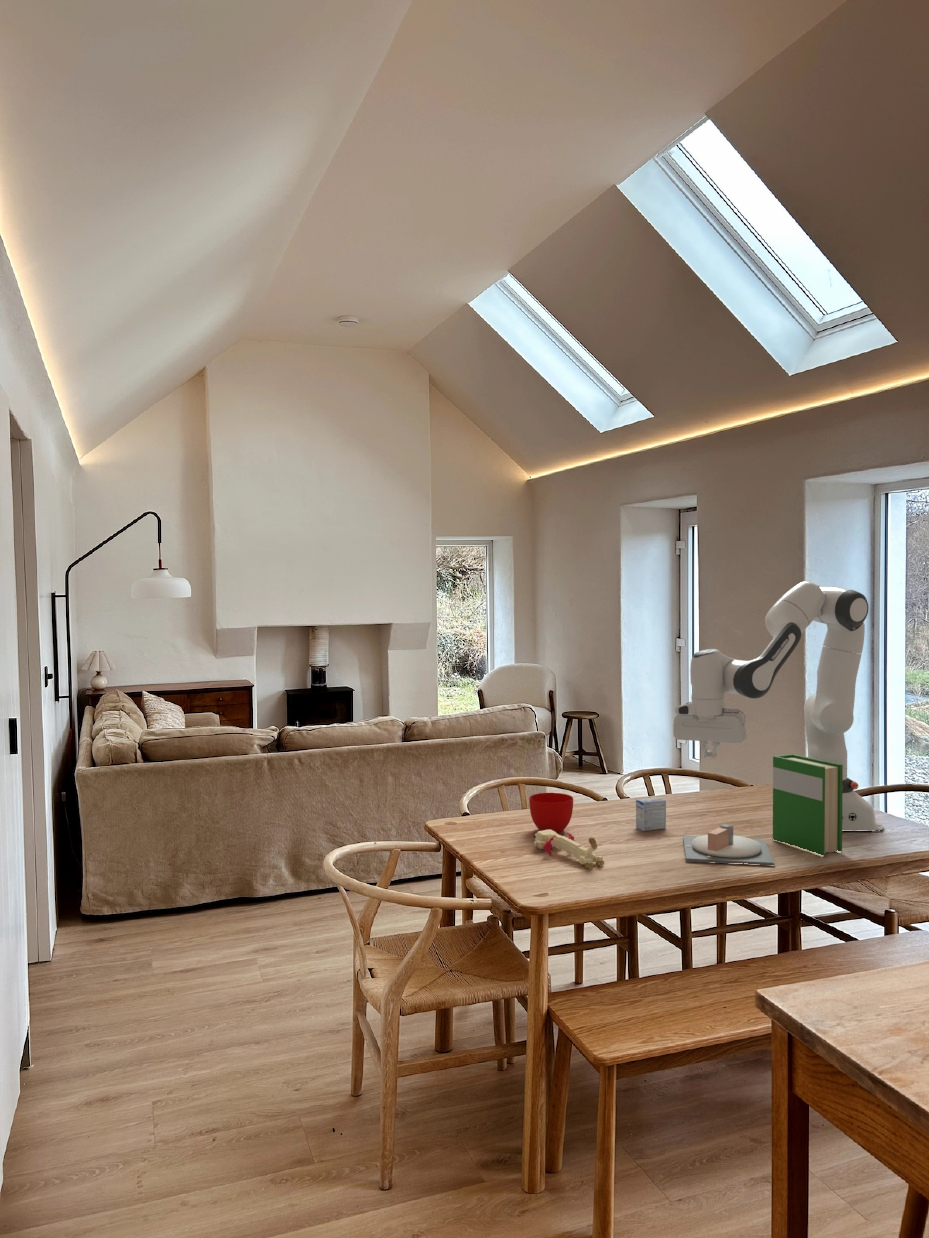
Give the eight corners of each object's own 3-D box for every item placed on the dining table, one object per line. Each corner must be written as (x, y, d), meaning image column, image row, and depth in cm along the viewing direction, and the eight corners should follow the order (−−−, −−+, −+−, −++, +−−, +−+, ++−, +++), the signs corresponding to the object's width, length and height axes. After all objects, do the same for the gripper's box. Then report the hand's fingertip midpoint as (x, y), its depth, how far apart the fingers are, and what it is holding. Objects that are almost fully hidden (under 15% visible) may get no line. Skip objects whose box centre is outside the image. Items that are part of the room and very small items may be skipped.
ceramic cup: (572, 822, 280) (572, 789, 280) (573, 837, 263) (573, 803, 263) (530, 821, 281) (530, 789, 281) (528, 836, 264) (528, 802, 264)
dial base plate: (763, 842, 256) (763, 838, 256) (774, 866, 235) (774, 861, 235) (683, 838, 261) (683, 834, 261) (686, 862, 239) (686, 857, 239)
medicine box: (657, 825, 276) (657, 796, 275) (666, 828, 272) (666, 800, 271) (635, 828, 273) (635, 799, 272) (643, 831, 269) (643, 802, 268)
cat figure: (610, 869, 238) (551, 839, 259) (611, 837, 237) (553, 809, 258) (580, 876, 233) (523, 845, 254) (581, 843, 232) (524, 814, 253)
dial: (710, 834, 260) (710, 813, 260) (772, 846, 248) (772, 824, 248) (680, 848, 247) (680, 826, 247) (743, 861, 235) (743, 838, 235)
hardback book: (841, 853, 246) (842, 764, 245) (821, 857, 243) (822, 767, 242) (792, 837, 262) (792, 753, 261) (772, 840, 258) (773, 756, 258)
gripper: (748, 707, 251) (751, 757, 251) (679, 705, 264) (681, 752, 264) (740, 710, 246) (742, 761, 246) (669, 708, 259) (672, 756, 259)
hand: (710, 757), depth 255 cm, fingers closed
